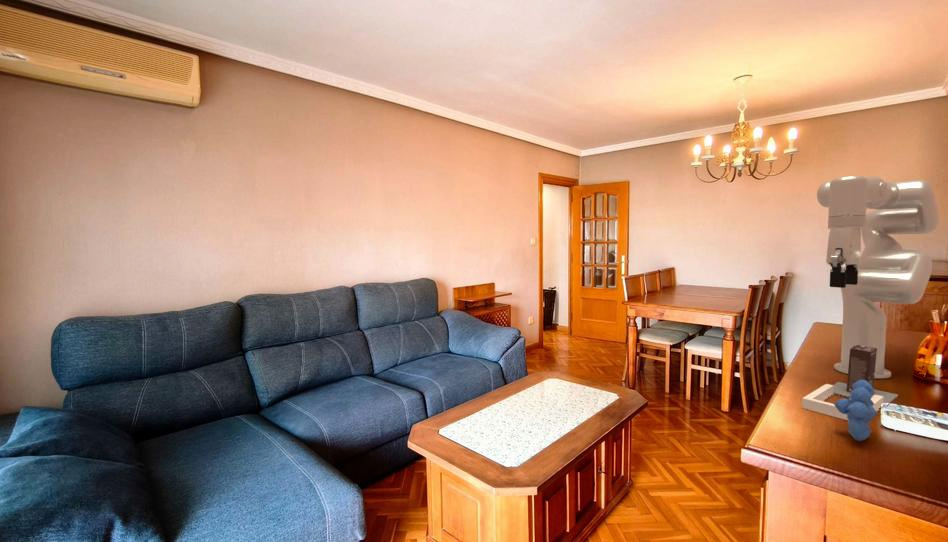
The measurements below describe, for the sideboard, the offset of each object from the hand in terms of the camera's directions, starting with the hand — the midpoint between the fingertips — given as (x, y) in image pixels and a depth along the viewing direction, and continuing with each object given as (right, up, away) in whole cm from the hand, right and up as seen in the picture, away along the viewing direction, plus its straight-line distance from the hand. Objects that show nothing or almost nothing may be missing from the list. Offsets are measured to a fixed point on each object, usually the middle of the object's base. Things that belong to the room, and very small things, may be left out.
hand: (843, 285), depth 110 cm
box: (+2, -28, -3) cm, 29 cm away
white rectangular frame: (-10, -29, -11) cm, 33 cm away
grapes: (-21, -31, -25) cm, 45 cm away
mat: (+1, -29, -3) cm, 29 cm away
